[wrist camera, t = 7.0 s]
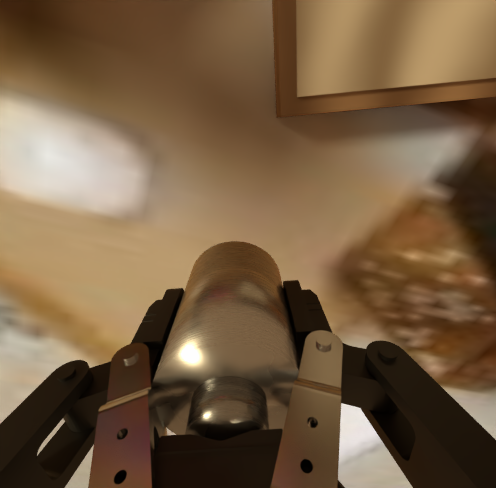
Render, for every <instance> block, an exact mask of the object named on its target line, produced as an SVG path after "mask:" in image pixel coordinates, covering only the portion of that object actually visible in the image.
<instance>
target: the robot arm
mask: <svg viewBox="0 0 496 488" xmlns="http://www.w3.org/2000/svg"><path fill="white" fill-rule="evenodd" d="M283 289H284V294H285V298H286V302H287V307H288V311H289V315H290V319H291V324H292V328H293V332H294V337H295V341H296V345H297V349H298V353H299V357H300V362H301V363H300V368H299V373H298V378H297V379H295V381H294V384H293V388H292V393H291V397H290V402H289V406H288V411H287V415H286V420H285V424H284V429H283V430H282V429H267V430H252V431H249V432H246V433H243V434H240V435H238V436H235V437H232V438H229V439H226V440H223V441H217V440H213V439H209V438H204V437H200V436H196V435H192V434H185V435H169V436H167V429H166V426H165V423H164V421H160V419H159V416H158V413H157V410H156V405H155V399H154V390H153V387H152V382H153V380H154V377H155V374H156V371H157V368H158V365H159V363H160V360H161V357H162V354H163V351H164V348H165V345H166V343H167V340H168V337H169V334H170V331H171V328H172V325H173V323H174V320H175V317H176V314H177V311H178V308H179V306H180V303H181V300H182V297H183V294H184V290H183V288H179V289H167V290H166V292H165V295H164V297H163V299H162V300H156V301H155V302H154V303H153V304H152V305H151V306H150V307H149V309H148V311H147V313H146V316H144V318H143V320H142V323H141V324H140V326H139V328H138V330H137V332H136V334H135V336H134V338H133V340H132V342H131V344H129V345H127V346H125V347H123V348H121V349H120V350H119V351H117V352H116V354H115V355H114V356H113V358H112V360H111V362H108V363H105V364H102V365H98V366H95V367H92V368H89V366H88V363H87V362H85V361H83V360H75V361H71V362H68V363H66V364H64V365H62V366H60V367H59V368H57V369H56V370H55V371H54V372H53V373H52V374H51V375H50V376H49V377H48V378H47V379H45V380H44V381H43V382H42V383H41V384H40V385H39V386H38V387H37V388H36V389H35V390H34V391H33V392H32V393H31V394H30V395H29V396H28V397H27V398H26V399H25V400H24V401H23V402H22V403H21V404H20V405H19V406H18V407H17V408H16V409H15V410H14V411H13V412H12V413H11V414H10V415H9V416H8V417H7V418H6V419H5V420H4V421H3V422H2V423H1V424H0V488H65V486H66V485H67V483H68V482H69V480H70V479H71V477H72V476H73V474H74V473H75V471H76V470H77V468H78V467H79V465H80V464H81V462H82V461H83V459H84V458H85V456H86V455H87V453H88V452H89V450H90V449H91V447H92V446H93V444H94V449H93V456H92V464H91V471H90V479H89V486H88V488H345V487H344V486H343V485H342V484H341V483H340V482H339V481H338V461H339V438H340V415H341V403H344V404H348V405H351V406H355V407H359V408H361V410H362V411H363V413H364V414H365V416H366V417H367V419H368V420H369V422H370V423H371V425H372V426H373V428H374V429H375V431H376V432H377V434H378V435H379V437H380V438H381V440H382V441H383V443H384V445H385V446H386V448H387V449H388V451H389V452H390V454H391V455H392V457H393V458H394V460H395V461H396V463H397V464H398V466H399V467H400V469H401V470H402V472H403V473H404V475H405V476H406V478H407V479H408V481H409V482H410V484H411V485H412V487H413V488H496V440H495V439H494V438H493V437H492V436H491V435H490V434H489V433H488V432H487V431H486V430H485V429H484V428H483V427H482V426H481V425H480V424H479V423H478V422H477V421H476V420H475V419H474V418H473V417H472V416H471V415H470V414H469V413H468V412H467V411H465V410H464V409H463V408H462V407H461V406H460V405H459V404H458V403H457V402H456V401H455V400H454V399H453V398H452V397H451V396H450V395H449V394H448V393H447V392H446V391H445V390H444V389H443V388H442V387H441V386H440V385H439V384H438V383H437V382H436V381H435V380H434V379H433V378H432V377H431V376H430V375H429V374H428V373H427V372H425V371H424V370H423V369H422V368H421V367H420V366H419V365H418V364H417V363H416V362H415V361H414V360H413V359H412V358H411V357H410V356H409V355H408V354H407V353H406V352H405V351H404V350H403V349H402V348H400V347H399V346H397V345H395V344H393V343H391V342H387V341H374V342H372V343H370V344H369V345H368V346H367V349H363V348H357V347H352V346H349V345H346V344H344V343H342V341H341V340H340V338H339V337H338V336H336V335H335V334H333V333H332V331H331V328H330V326H329V324H328V321H327V319H326V316H325V314H324V312H323V310H322V307H321V304H320V302H319V300H318V297H317V295H316V294H315V293H313V292H312V291H311V290H302V289H301V287H300V284H299V281H298V280H294V281H283ZM62 418H64V420H65V422H64V424H63V425H62V426H61V427H60V429H59V430H58V431H57V432H56V434H55V435H54V436H53V437H52V438H51V440H50V441H49V442H48V443H47V445H46V446H45V447H44V448H43V450H42V451H41V452H40V453H39V454H38V456H37V452H38V450H39V447H40V446H41V444H42V443H43V441H44V440H45V439H46V438H47V436H48V435H49V434H50V433H51V432H52V430H53V429H54V428H55V427H56V426H57V424H58V423H59V422H60V421H61V420H62Z"/></svg>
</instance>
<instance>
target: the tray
mask: <svg viewBox="0 0 496 488" xmlns="http://www.w3.org/2000/svg"><path fill="white" fill-rule="evenodd" d="M272 6H273V33H274V60H275V87H276V114H277V117H288V116H299V115H309V114H320V113H330V112H341V111H352V110H362V109H373V108H384V107H394V106H405V105H415V104H426V103H437V102H447V101H458V100H469V99H479V98H488V97H496V0H272Z"/></svg>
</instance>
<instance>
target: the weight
mask: <svg viewBox="0 0 496 488" xmlns="http://www.w3.org/2000/svg"><path fill="white" fill-rule="evenodd" d="M300 363H301V362H300V357H299V353H298V349H297V345H296V341H295V337H294V332H293V328H292V324H291V319H290V315H289V311H288V307H287V302H286V298H285V294H284V289H283V285H282V281H281V276H280V272H279V269H278V266H277V264H276V263H275V261H274V259H273V258H272V257H271V256H270V255H269V254H268V253H267V252H266V251H264V250H263V249H261V248H260V247H258V246H256V245H253V244H250V243H246V242H239V241H231V242H224V243H220V244H217V245H215V246H213V247H211V248H209V249H207V250H206V251H205V252H203V253H202V254H201V255H200V256H199V258H198V259H197V260H196V262H195V264H194V266H193V269H192V271H191V274H190V277H189V280H188V283H187V286H186V288H185V291H184V294H183V297H182V300H181V303H180V306H179V308H178V311H177V314H176V317H175V320H174V323H173V325H172V328H171V331H170V334H169V337H168V340H167V343H166V345H165V348H164V351H163V354H162V357H161V360H160V363H159V365H158V368H157V371H156V374H155V377H154V380H153V382H152V387H153V390H154V399H155V405H156V410H157V413H158V416H159V419H160V421H164V423H165V426H166V427H167V428H168V429H169V430H171V431H172V432H174V433H175V434H176V435H185V434H192V435H196V436H200V437H204V438H209V439H213V440H217V441H223V440H226V439H229V438H232V437H235V436H238V435H240V434H243V433H246V432H249V431H252V430H267V429H282V430H283V429H284V424H285V420H286V415H287V411H288V406H289V402H290V397H291V393H292V388H293V384H294V381H295V379H297V378H298V373H299V368H300Z"/></svg>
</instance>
